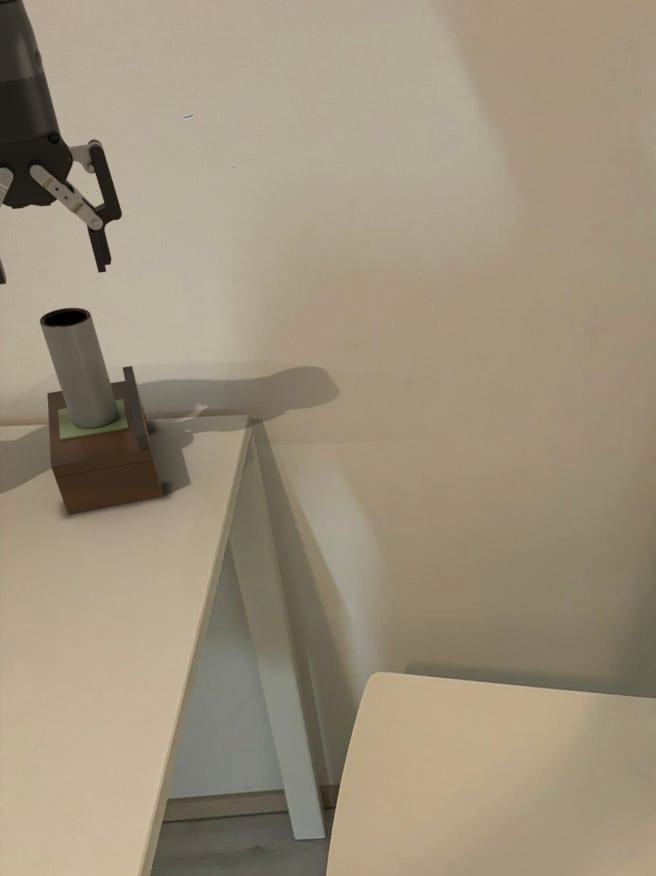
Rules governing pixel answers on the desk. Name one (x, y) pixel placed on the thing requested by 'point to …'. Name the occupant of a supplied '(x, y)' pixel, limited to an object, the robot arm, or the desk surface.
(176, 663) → the desk surface
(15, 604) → the desk surface
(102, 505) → the brown wooden box
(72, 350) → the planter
